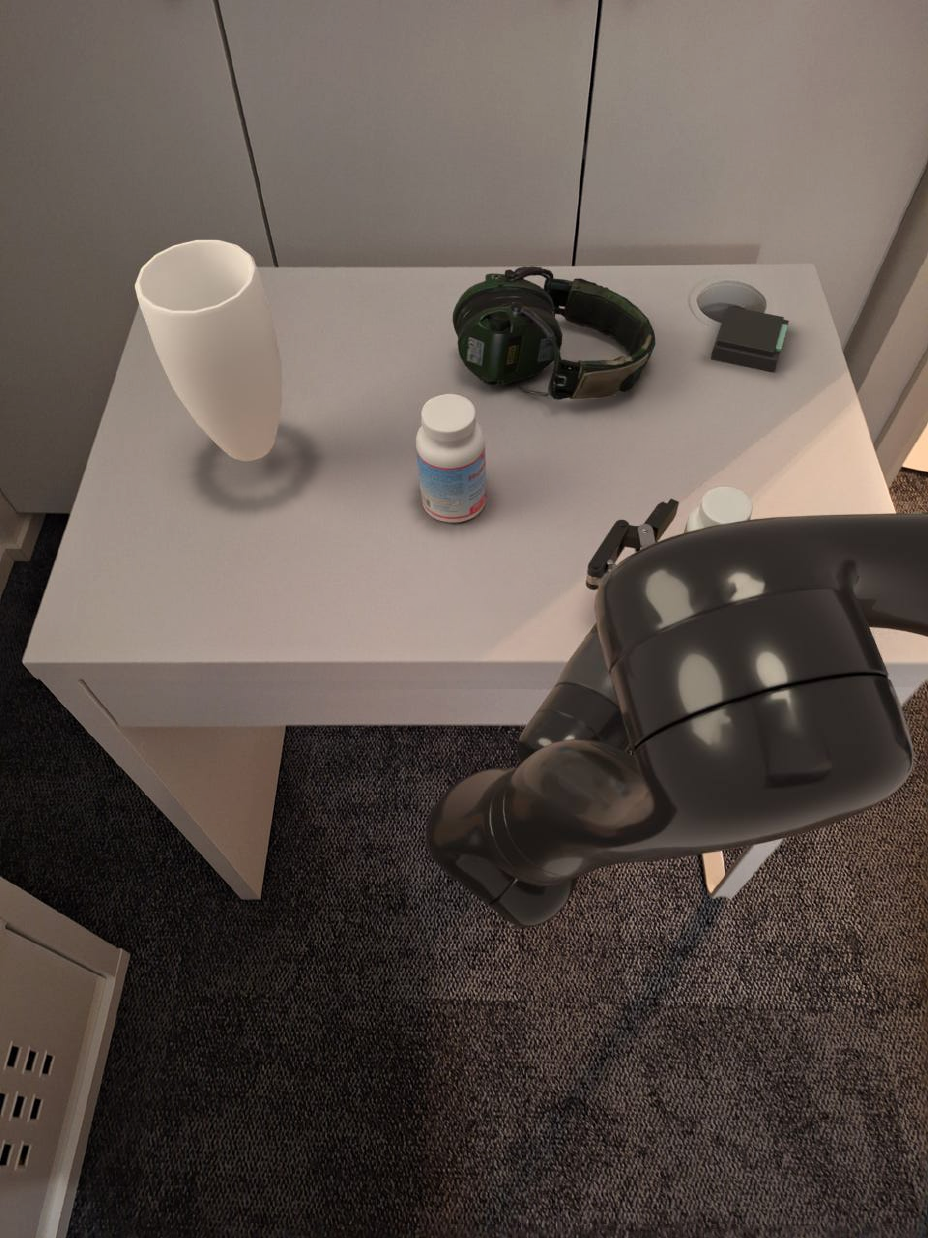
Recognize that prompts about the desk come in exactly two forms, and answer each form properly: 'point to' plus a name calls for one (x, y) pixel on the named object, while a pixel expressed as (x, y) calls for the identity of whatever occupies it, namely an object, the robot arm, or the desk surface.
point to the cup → (216, 341)
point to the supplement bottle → (720, 508)
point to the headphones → (549, 333)
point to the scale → (750, 339)
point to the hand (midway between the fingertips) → (720, 527)
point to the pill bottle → (451, 459)
